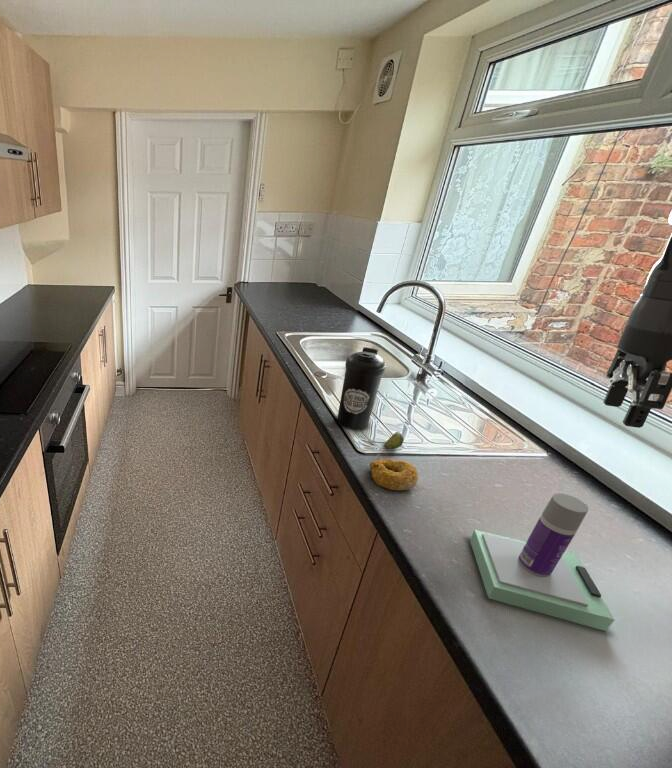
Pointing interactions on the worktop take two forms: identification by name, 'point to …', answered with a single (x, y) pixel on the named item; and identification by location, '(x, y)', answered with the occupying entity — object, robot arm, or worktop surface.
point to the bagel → (394, 474)
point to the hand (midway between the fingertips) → (621, 415)
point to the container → (552, 534)
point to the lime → (395, 441)
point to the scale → (539, 583)
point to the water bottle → (360, 388)
